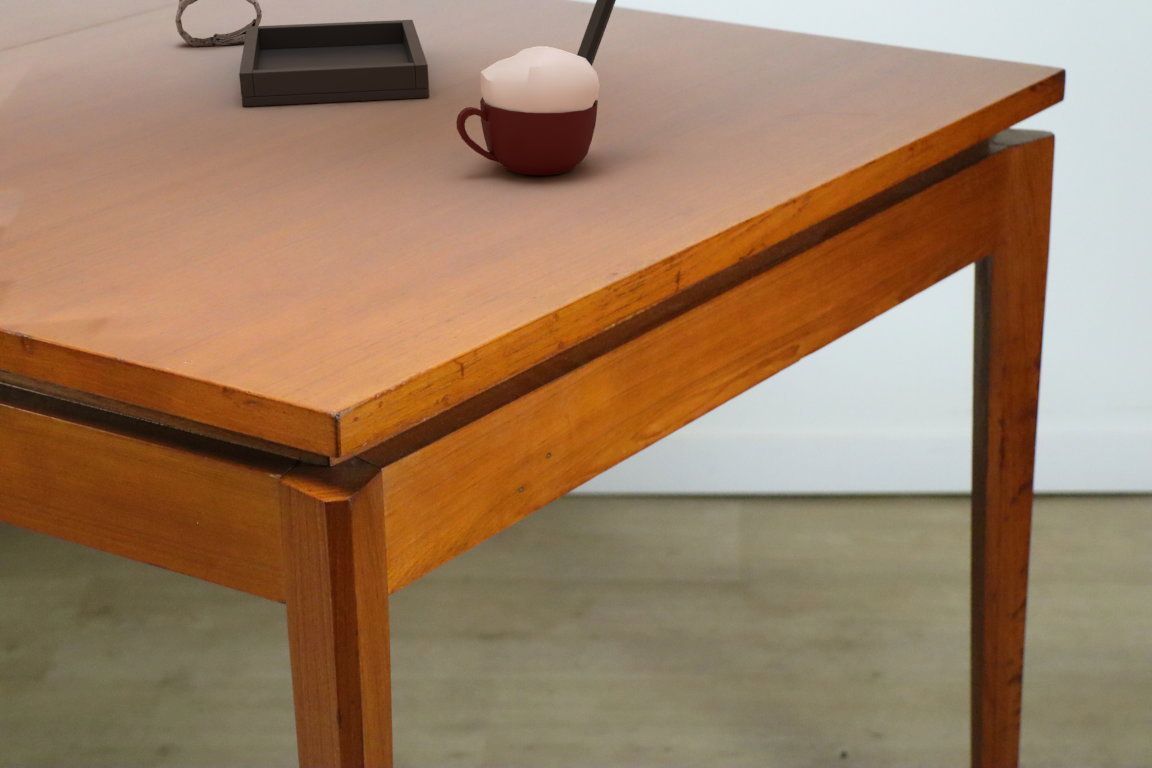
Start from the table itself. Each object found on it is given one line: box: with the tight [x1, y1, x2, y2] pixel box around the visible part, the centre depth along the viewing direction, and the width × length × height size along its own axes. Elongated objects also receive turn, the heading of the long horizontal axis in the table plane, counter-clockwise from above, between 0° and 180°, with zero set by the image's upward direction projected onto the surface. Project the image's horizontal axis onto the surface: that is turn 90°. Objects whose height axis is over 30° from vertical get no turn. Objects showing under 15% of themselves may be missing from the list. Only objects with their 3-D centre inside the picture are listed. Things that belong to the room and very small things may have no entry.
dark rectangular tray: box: [238, 19, 430, 108], centre depth 101 cm, size 12×15×2 cm
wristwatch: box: [174, 0, 263, 48], centre depth 110 cm, size 4×6×5 cm, turn 99°
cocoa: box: [455, 0, 617, 176], centre depth 79 cm, size 10×6×12 cm, turn 90°
